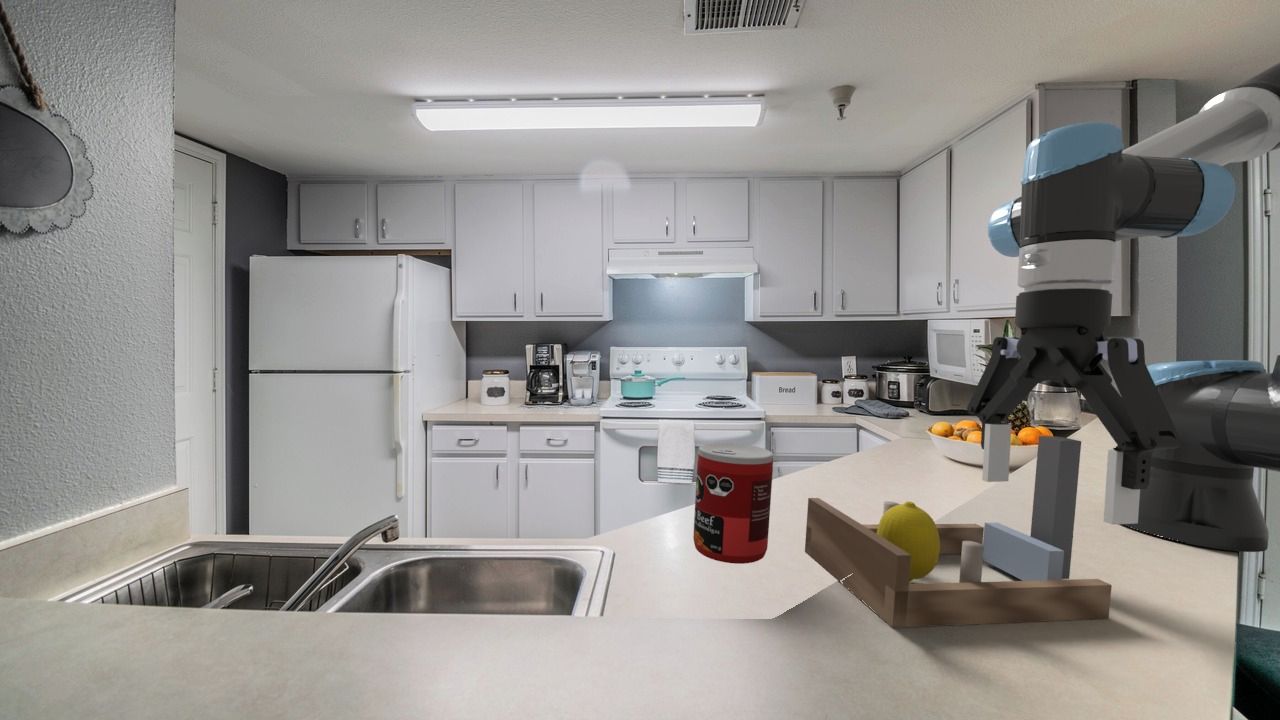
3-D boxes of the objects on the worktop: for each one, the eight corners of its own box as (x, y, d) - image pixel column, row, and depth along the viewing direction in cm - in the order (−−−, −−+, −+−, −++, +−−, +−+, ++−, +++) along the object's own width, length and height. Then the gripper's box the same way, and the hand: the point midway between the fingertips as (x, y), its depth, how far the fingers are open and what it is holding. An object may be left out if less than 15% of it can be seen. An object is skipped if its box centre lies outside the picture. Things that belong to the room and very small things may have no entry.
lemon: (921, 572, 54) (926, 495, 54) (947, 599, 49) (953, 513, 48) (865, 567, 55) (870, 491, 54) (885, 593, 49) (891, 509, 49)
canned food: (686, 536, 61) (691, 441, 61) (753, 537, 62) (759, 443, 62) (701, 565, 54) (707, 457, 53) (777, 565, 54) (784, 459, 54)
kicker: (1025, 558, 59) (1036, 431, 58) (1095, 591, 51) (1108, 446, 50) (981, 559, 58) (992, 430, 57) (1045, 592, 50) (1058, 445, 50)
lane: (973, 549, 62) (977, 498, 62) (1108, 618, 47) (1114, 551, 47) (804, 551, 58) (808, 497, 58) (892, 627, 43) (897, 555, 43)
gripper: (939, 296, 65) (931, 468, 66) (1176, 274, 40) (1157, 549, 41) (993, 298, 66) (984, 467, 67) (1255, 278, 41) (1234, 545, 42)
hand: (1050, 499), depth 54 cm, fingers open, 13 cm apart
